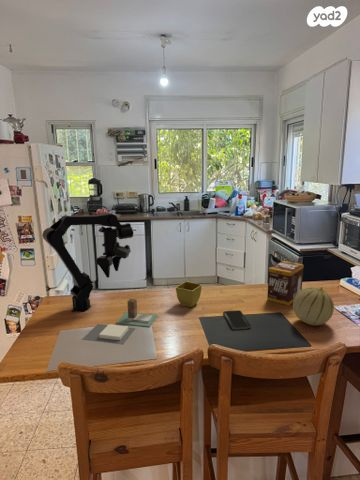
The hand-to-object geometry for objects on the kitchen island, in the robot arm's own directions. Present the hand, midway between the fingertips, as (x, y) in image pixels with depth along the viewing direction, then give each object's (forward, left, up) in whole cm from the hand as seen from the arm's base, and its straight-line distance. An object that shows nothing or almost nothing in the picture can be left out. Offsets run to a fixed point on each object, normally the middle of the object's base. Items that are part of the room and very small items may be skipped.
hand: (112, 274), depth 153 cm
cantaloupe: (+86, -4, -13) cm, 87 cm away
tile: (+10, -30, -12) cm, 34 cm away
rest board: (+18, -17, -13) cm, 28 cm away
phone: (+57, -8, -14) cm, 59 cm away
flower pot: (+35, +3, -13) cm, 38 cm away
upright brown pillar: (+19, -17, -12) cm, 28 cm away
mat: (+12, -30, -13) cm, 35 cm away
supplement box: (+77, +20, -13) cm, 81 cm away
